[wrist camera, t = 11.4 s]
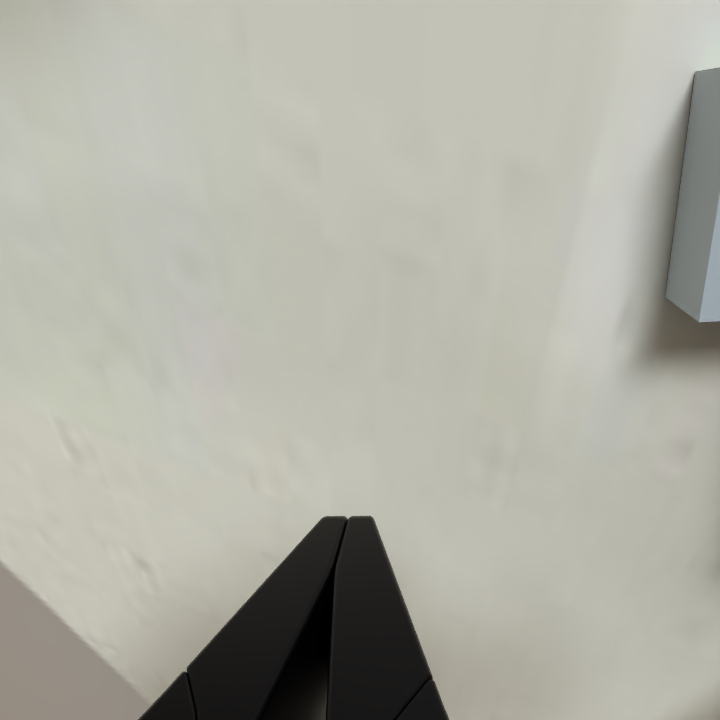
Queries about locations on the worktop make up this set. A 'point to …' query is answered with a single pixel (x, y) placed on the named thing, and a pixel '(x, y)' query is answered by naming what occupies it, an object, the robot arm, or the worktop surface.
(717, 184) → the pale blue eraser
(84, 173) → the worktop surface
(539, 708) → the worktop surface
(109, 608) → the worktop surface
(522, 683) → the worktop surface
